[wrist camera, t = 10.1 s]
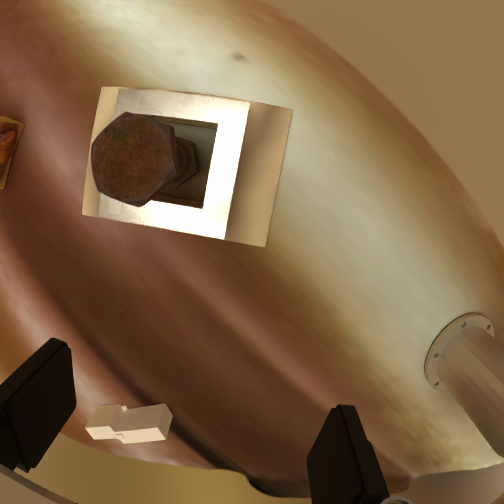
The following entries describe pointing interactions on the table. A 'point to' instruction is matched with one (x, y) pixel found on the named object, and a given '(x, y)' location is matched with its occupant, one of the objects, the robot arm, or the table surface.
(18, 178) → the table surface
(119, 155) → the bolt
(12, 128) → the candy box
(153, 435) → the beige stepped block
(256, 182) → the beech board
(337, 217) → the table surface
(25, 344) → the table surface
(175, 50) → the table surface
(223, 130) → the steel socket collar
